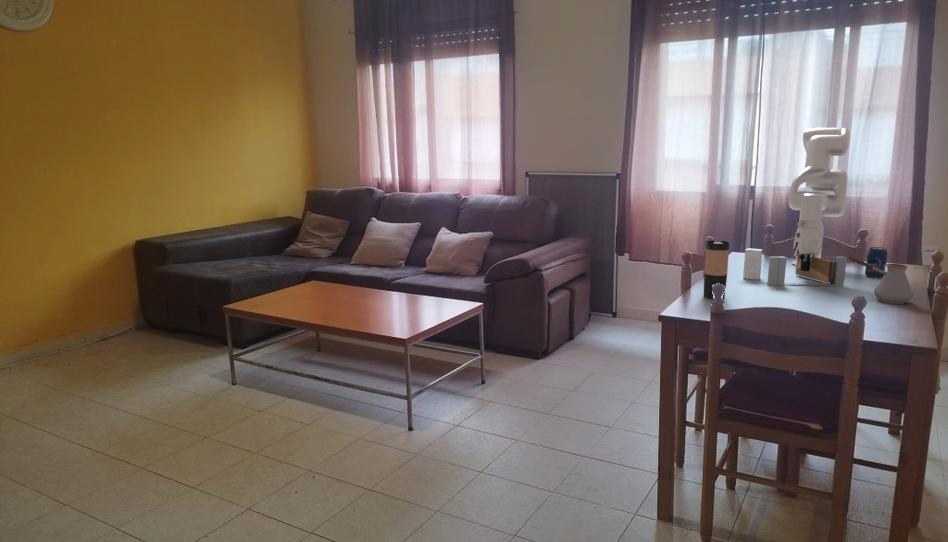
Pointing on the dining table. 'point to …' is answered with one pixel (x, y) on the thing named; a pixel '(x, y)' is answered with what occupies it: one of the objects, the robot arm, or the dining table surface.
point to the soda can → (876, 262)
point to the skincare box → (752, 263)
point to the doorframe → (778, 276)
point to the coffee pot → (891, 283)
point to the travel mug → (715, 266)
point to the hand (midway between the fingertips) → (804, 270)
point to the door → (818, 270)
